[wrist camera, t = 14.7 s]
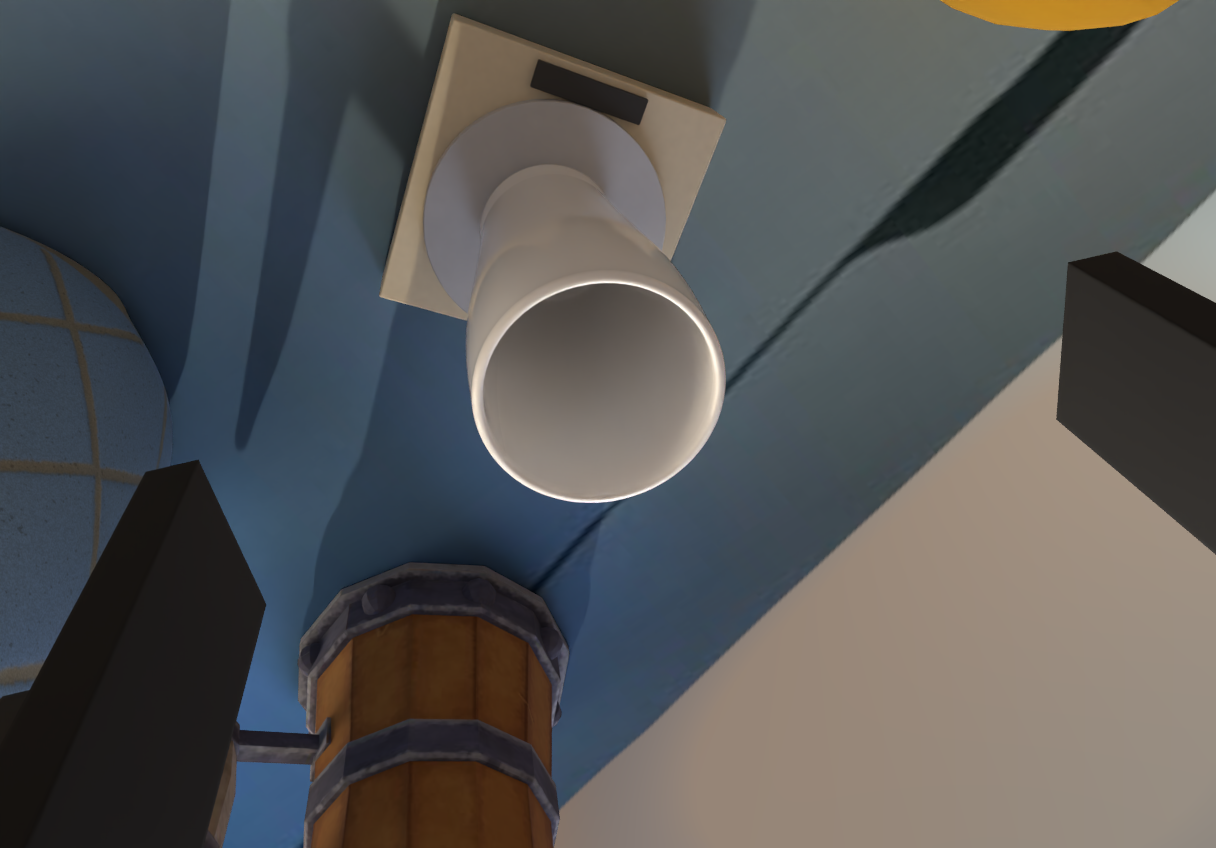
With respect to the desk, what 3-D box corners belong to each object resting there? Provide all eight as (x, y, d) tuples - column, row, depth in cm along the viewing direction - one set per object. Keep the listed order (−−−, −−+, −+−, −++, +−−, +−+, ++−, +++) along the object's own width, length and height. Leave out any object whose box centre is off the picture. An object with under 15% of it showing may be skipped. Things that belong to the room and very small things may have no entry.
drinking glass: (449, 296, 38) (451, 495, 25) (473, 125, 35) (489, 248, 22) (612, 319, 39) (694, 518, 26) (648, 157, 36) (761, 291, 23)
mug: (168, 719, 50) (16, 1153, 32) (241, 499, 44) (107, 876, 27) (510, 786, 56) (539, 1181, 38) (611, 600, 50) (698, 961, 33)
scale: (452, 12, 36) (453, 19, 33) (711, 108, 39) (731, 122, 36) (382, 276, 40) (377, 302, 38) (620, 343, 43) (632, 371, 41)
